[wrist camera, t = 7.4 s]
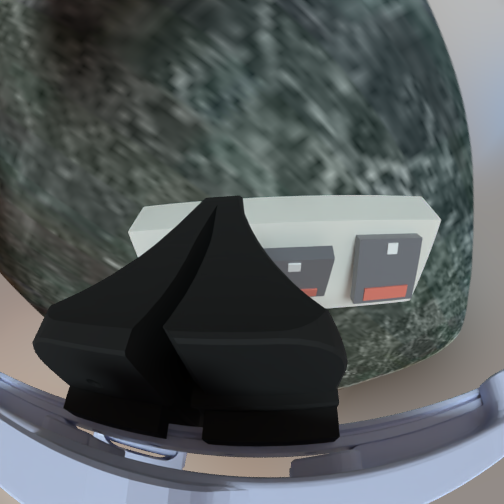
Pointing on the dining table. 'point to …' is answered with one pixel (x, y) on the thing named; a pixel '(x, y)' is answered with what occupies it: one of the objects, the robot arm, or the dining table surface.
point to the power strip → (312, 229)
